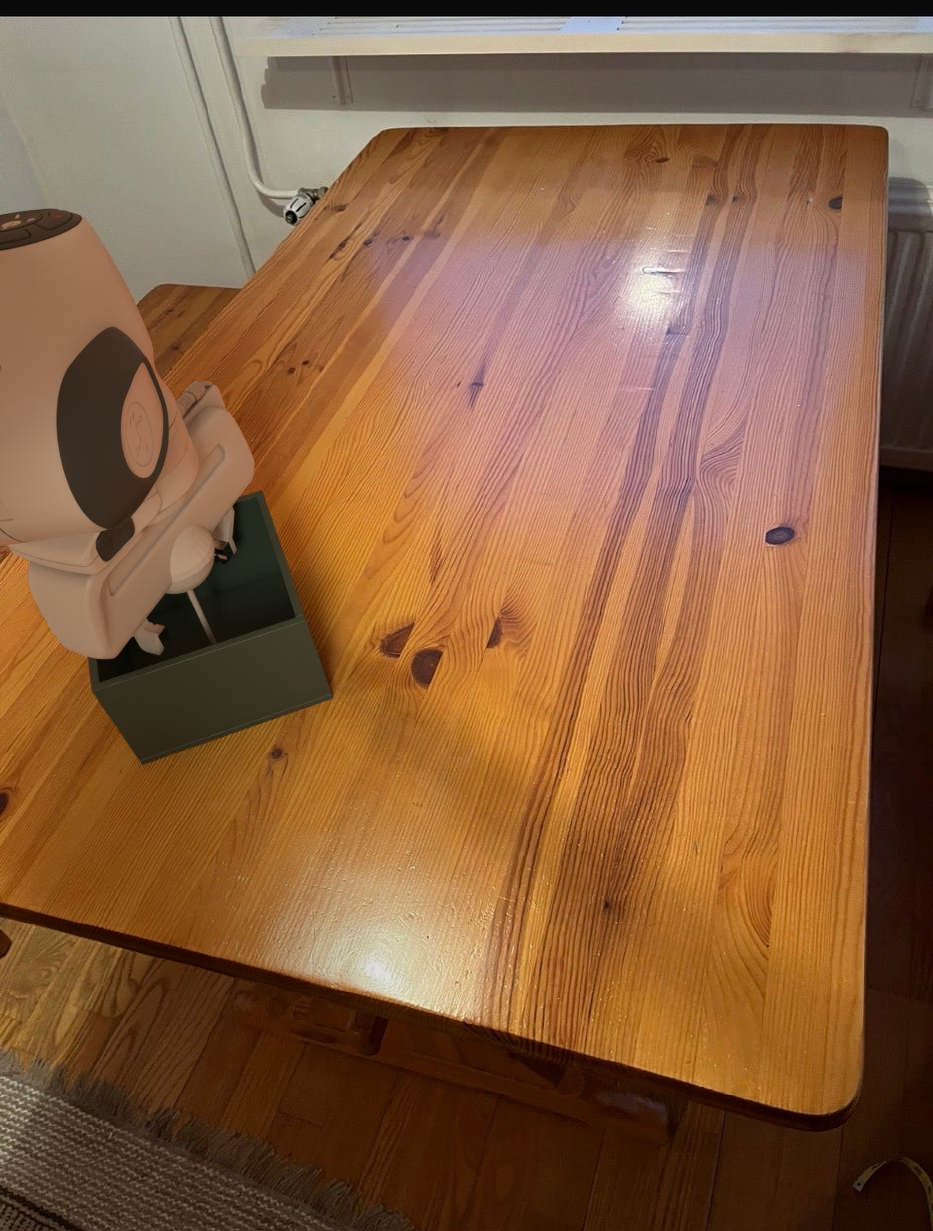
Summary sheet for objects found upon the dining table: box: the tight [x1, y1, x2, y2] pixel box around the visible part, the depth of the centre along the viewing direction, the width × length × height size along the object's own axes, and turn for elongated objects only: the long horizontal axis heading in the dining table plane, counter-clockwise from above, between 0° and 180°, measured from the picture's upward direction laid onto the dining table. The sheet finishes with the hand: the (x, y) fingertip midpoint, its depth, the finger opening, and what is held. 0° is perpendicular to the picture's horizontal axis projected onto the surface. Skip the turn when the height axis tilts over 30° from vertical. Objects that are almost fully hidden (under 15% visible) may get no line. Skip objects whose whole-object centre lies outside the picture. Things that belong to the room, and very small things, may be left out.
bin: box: [87, 489, 334, 766], centre depth 73 cm, size 15×15×10 cm
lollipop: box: [166, 525, 217, 645], centre depth 70 cm, size 6×6×15 cm
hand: (192, 599), depth 71 cm, fingers open, 8 cm apart
